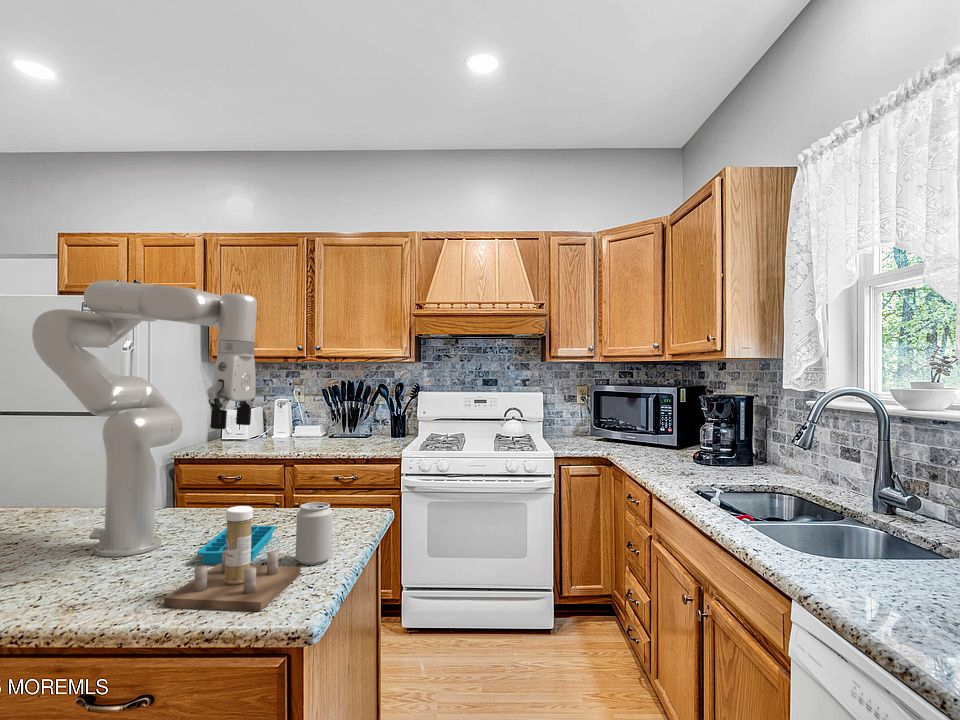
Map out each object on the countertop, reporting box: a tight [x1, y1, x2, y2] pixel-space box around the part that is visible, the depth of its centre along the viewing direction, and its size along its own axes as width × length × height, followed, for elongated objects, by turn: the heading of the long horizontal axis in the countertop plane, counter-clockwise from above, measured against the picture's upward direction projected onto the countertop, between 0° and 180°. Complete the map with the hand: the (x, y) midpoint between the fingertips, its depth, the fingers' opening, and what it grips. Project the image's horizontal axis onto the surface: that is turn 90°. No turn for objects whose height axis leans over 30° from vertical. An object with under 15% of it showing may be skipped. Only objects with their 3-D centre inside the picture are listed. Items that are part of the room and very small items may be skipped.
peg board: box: [163, 550, 302, 612], centre depth 100 cm, size 17×17×6 cm
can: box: [295, 501, 334, 566], centre depth 117 cm, size 8×8×12 cm
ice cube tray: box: [196, 525, 277, 565], centre depth 123 cm, size 12×20×3 cm, turn 7°
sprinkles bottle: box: [224, 505, 254, 585], centre depth 101 cm, size 5×5×13 cm
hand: (231, 426), depth 119 cm, fingers open, 9 cm apart
